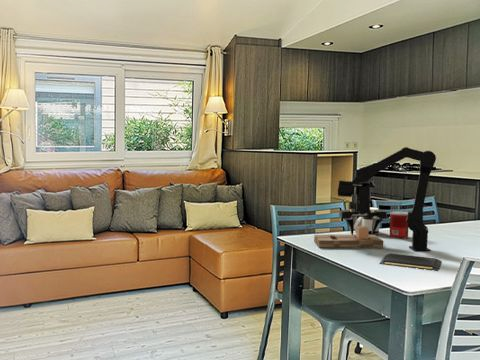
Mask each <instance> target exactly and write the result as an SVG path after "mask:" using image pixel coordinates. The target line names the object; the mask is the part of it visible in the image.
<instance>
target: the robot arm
mask: <svg viewBox="0 0 480 360" xmlns="http://www.w3.org/2000/svg"><path fill="white" fill-rule="evenodd" d="M405 158H408V159H412V160H415V161H419V176H418V182H417V187H416V193H415V198H414V204H413V207H412V209H411V210H410V209H408V210H407V213H408V217H407V219H406V222H408V227H409V228H408V230H410V231H412V235H411V236H412V240H411V242H412V243H411V245H409V246H408V248H409V249H411V250H412V251H417V252H418V251H419V252H429V251H430V252H431V250H432V249H430V248H429V247H428V238H429V236H428V234H429V228H428V226H427V225H426V224H425V223H424V205H425V199H426V196H427V190H428V186H429V179H430V176H431V173H432V171H433V168H434V165H435V163H436V160H437V155H436V154H435V153H434V152H433V151H431V150H424V151H421V150H417V149H413V148H410V147H408V146H405V147H403V148H402V149H400V150H398V151H396V152H394V153H392V154H390V155H389V156H386V157H385V158H383V159H381V160H379V161H377V162H375V163H371V164H369V165H366V166H363V167H360V168H358V170H357V171H356V173H355V174H356V176H355V177H354V178H353V179H352V180H339V181H338V186H337V187H338V188H337V197H338V198H341V197H342V198H352V197H353V195H356V197H355V198H356V199H355V202H354V201H348V209H340V210H339V212H338V217H339V218H341V219H343V220H344V221H346V222H347V225H348V227H349V231H350V235H354V219H353V218H352V217H354V218H355V217H358V218H359V217H372V221H373V223H372V234H371V235H375V234H374V232H375V230H376V228H377V226H378V225H379V226H380V223H381V222H382V221H384V220H386V219H388V213H387V211H385V210H383V209H379V210H374V212H371V211H370V207H371V204H372V201H371V196H372V195H371V193H372V191H371V190H372V188H375V187H376V184H375V183H374V182H373V181H372V180H371V181H370V182H368V181H369V180H370V179H372V178H373V177H375V175H377V174H378V173H379V172H381V171H383V170H384V169H386V168H389V167H390V166H392V165H394V164H396V163H398V162H400V161H402V160H403V159H405ZM361 182H362V183H361ZM359 183H361V184H359ZM351 210H352V211H351ZM367 214H368V215H367Z"/></svg>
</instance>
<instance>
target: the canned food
mask: <svg viewBox="0 0 480 360" xmlns="http://www.w3.org/2000/svg"><path fill="white" fill-rule="evenodd" d="M389 214H390V216H389V237H390V238H393V239H407V238H408V237H409V227H408V222H406V219H407V217H408V211H400V210H399V211H396V210H395V211H390V213H389Z"/></svg>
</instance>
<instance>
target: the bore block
mask: <svg viewBox="0 0 480 360" xmlns="http://www.w3.org/2000/svg"><path fill="white" fill-rule="evenodd" d="M313 237H314V238H313V241H314V243H315V244H316V246H317V247H318V249H383V248H384V240H383V239H382V238H380V237H379V236H378V235H377V234H373V235H372V234H368V239H357V238H356V234H353V235H352V234H314V235H313Z"/></svg>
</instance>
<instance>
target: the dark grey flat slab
mask: <svg viewBox="0 0 480 360" xmlns="http://www.w3.org/2000/svg"><path fill="white" fill-rule="evenodd" d="M442 264H443V262H442V260H440V259H437V258H434V257H426V256H418V255H417V256H416V255H408V254H399V253H391V252H390V253H387V254H386V255H384V256H383V258H382V259H381V260H380V262H379V263H378V265H383V266H393V267H399V268H400V267H401V268H407V267H408V268H409V269H416V268H418V269H417V270H424V269H426V270H425V271H432V270H434V271H433V272H439V271H440V269H441V267H442ZM438 270H439V271H438Z"/></svg>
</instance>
